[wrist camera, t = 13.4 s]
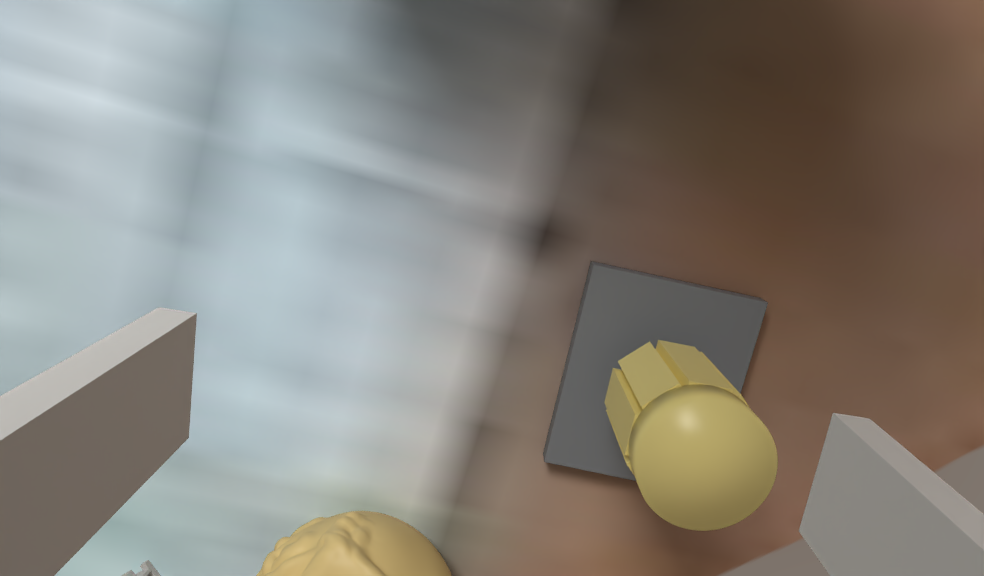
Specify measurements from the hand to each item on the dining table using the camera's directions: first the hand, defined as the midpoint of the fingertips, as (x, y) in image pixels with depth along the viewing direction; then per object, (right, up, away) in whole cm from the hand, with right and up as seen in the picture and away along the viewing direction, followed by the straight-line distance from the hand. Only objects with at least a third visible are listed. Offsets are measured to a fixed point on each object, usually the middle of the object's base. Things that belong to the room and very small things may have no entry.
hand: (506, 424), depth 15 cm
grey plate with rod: (+9, -2, +28) cm, 29 cm away
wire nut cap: (+9, -3, +24) cm, 26 cm away
